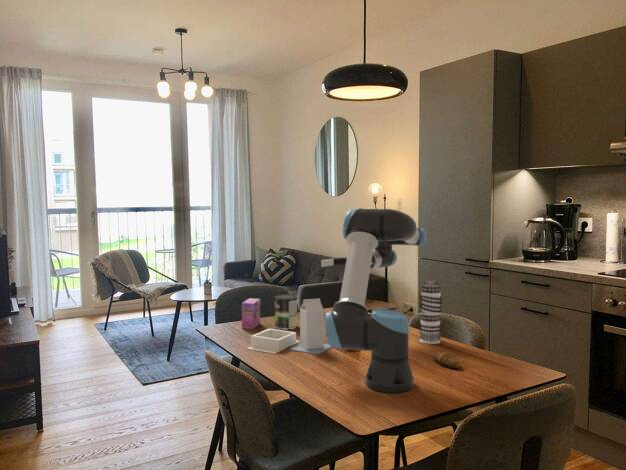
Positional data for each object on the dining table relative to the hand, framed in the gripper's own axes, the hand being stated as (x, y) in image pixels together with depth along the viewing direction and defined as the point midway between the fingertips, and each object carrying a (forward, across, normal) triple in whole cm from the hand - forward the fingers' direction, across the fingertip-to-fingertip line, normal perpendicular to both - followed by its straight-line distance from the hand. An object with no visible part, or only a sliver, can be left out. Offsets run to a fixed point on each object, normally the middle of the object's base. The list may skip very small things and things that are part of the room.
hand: (333, 265), depth 210 cm
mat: (+10, +2, -32) cm, 34 cm away
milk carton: (+10, +2, -32) cm, 33 cm away
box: (+7, +46, -32) cm, 57 cm away
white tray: (+19, +15, -32) cm, 40 cm away
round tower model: (-32, -24, -32) cm, 51 cm away
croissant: (-11, -46, -32) cm, 57 cm away
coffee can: (-4, +34, -32) cm, 47 cm away
